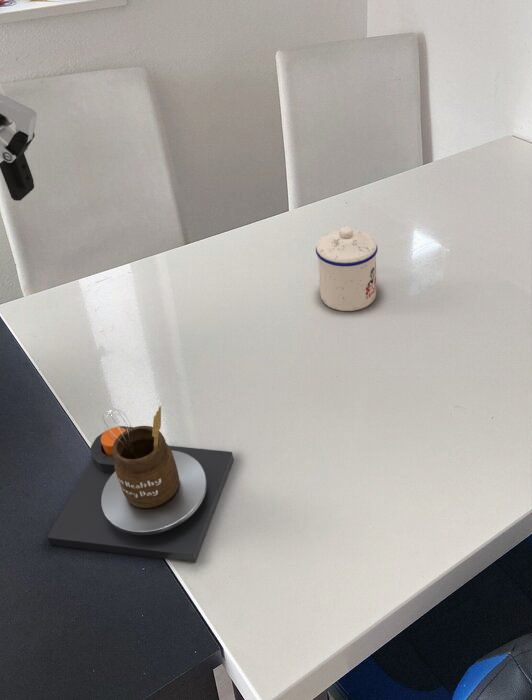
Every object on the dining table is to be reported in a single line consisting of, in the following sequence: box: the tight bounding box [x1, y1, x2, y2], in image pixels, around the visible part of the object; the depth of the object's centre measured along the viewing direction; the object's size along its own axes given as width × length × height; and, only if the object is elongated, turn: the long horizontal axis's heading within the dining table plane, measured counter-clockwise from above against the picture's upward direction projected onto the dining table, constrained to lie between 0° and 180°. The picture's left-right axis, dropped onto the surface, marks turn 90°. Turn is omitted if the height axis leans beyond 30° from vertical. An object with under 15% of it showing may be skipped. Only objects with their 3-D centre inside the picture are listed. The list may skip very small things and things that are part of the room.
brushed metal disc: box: [101, 450, 207, 535], centre depth 73 cm, size 11×11×1 cm
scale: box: [46, 425, 235, 563], centre depth 75 cm, size 16×15×3 cm
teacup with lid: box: [315, 226, 378, 312], centre depth 103 cm, size 12×9×12 cm
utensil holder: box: [101, 405, 179, 508], centre depth 69 cm, size 6×6×12 cm
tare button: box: [101, 426, 126, 456], centre depth 78 cm, size 3×3×2 cm
